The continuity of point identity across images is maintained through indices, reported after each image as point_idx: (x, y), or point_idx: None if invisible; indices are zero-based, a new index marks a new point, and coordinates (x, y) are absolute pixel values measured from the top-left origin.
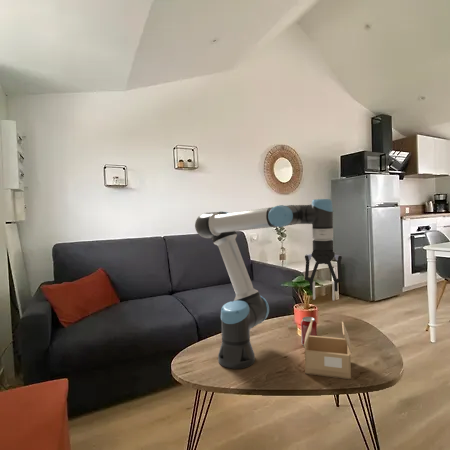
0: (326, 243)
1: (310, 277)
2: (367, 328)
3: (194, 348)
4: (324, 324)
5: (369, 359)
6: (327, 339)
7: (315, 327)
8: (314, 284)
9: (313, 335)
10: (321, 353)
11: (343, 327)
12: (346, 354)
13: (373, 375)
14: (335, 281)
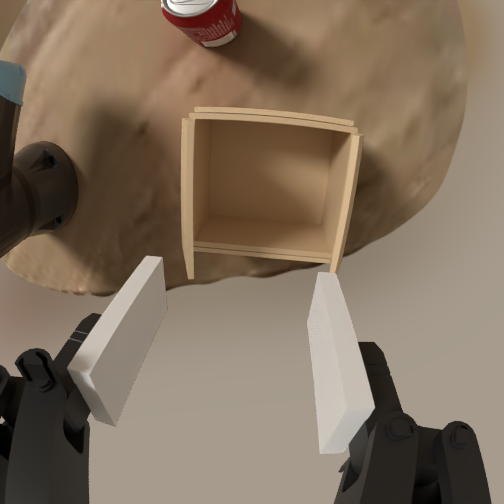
0: None
1: (22, 401)
2: None
3: None
4: None
5: (400, 108)
6: (274, 122)
7: (227, 14)
8: (119, 411)
9: (223, 32)
10: (243, 254)
11: (345, 219)
12: (324, 256)
13: (385, 199)
14: (357, 474)
